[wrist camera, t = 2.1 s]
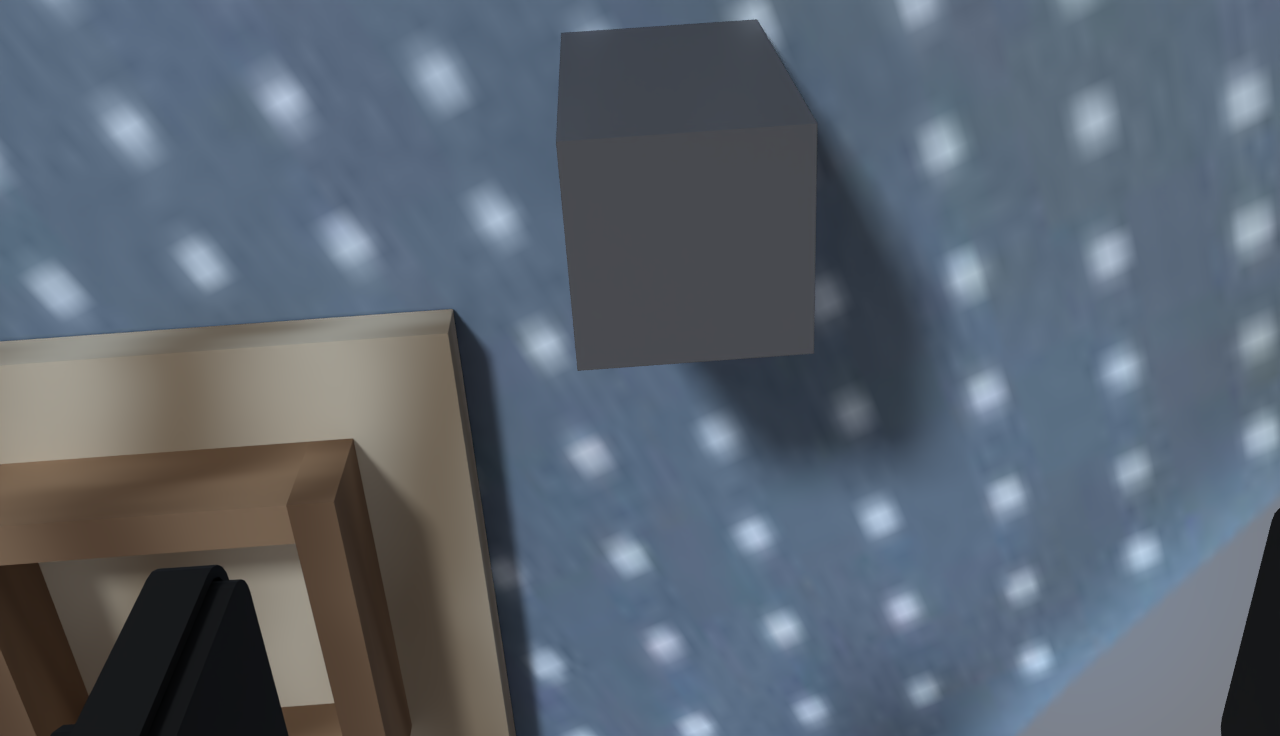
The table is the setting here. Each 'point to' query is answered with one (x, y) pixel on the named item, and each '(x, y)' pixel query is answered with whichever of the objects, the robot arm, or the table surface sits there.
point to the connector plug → (685, 196)
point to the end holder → (255, 515)
